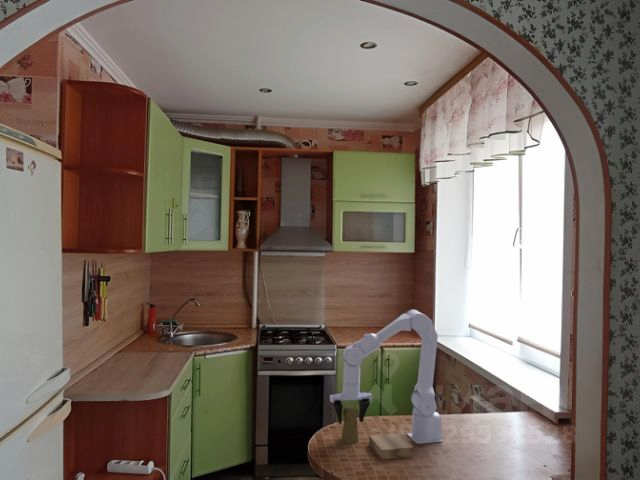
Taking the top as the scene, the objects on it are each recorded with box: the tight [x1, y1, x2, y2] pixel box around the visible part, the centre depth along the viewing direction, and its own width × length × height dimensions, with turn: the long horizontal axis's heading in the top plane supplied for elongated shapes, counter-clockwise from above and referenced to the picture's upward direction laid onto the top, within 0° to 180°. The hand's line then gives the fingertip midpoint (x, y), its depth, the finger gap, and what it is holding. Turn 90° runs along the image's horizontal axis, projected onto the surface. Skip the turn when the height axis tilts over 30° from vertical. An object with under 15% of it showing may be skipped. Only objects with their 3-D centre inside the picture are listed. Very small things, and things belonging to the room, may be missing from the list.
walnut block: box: [368, 432, 415, 460], centre depth 156 cm, size 11×11×3 cm
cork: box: [340, 406, 360, 445], centre depth 163 cm, size 6×6×11 cm
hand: (350, 421), depth 163 cm, fingers open, 7 cm apart
